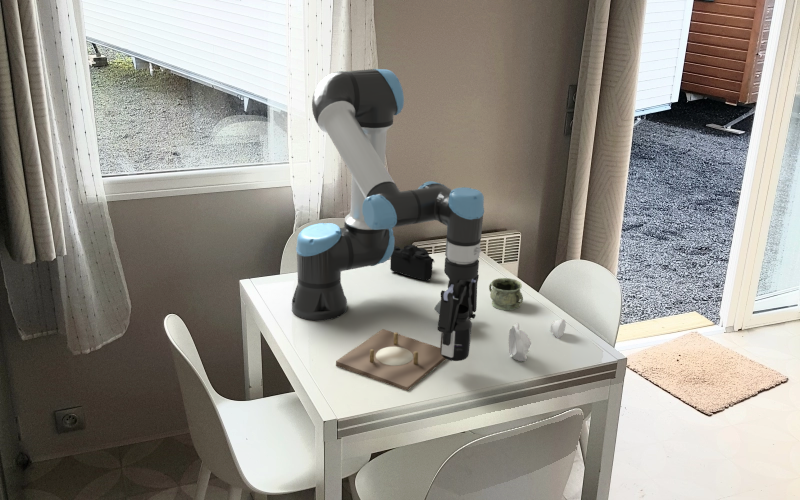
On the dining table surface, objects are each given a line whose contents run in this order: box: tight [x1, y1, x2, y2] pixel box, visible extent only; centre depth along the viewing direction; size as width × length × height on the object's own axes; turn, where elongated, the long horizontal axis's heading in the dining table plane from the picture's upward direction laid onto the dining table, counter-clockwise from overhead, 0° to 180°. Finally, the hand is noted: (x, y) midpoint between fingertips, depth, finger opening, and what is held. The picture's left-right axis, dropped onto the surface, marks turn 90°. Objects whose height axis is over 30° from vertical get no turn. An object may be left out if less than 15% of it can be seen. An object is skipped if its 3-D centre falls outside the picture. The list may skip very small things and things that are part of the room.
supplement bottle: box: [439, 305, 473, 362], centre depth 179 cm, size 7×7×12 cm
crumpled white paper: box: [508, 322, 532, 362], centre depth 188 cm, size 10×4×10 cm, turn 5°
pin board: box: [335, 328, 447, 391], centre depth 187 cm, size 20×20×4 cm
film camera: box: [389, 243, 435, 281], centre depth 238 cm, size 15×10×9 cm, turn 56°
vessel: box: [488, 277, 524, 311], centre depth 218 cm, size 12×9×6 cm
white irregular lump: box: [549, 319, 567, 339], centre depth 201 cm, size 5×3×5 cm, turn 149°
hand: (455, 348), depth 181 cm, fingers closed on supplement bottle, 7 cm apart
